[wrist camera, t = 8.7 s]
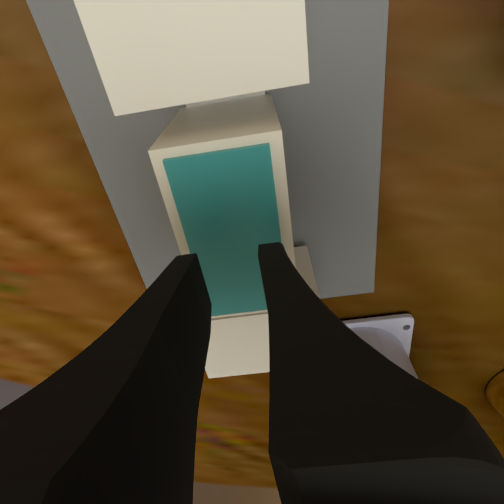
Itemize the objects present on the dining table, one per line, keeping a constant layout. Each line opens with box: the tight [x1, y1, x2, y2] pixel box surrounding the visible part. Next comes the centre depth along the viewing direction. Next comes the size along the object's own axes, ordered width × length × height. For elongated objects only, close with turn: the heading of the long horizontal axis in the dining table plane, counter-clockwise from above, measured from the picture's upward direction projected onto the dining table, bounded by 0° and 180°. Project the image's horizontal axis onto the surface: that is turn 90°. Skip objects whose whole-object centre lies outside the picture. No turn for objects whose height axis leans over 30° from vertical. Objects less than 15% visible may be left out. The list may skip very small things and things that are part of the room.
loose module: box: [148, 93, 296, 318], centre depth 15 cm, size 7×4×6 cm, turn 9°
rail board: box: [26, 0, 389, 378], centre depth 16 cm, size 18×14×6 cm
